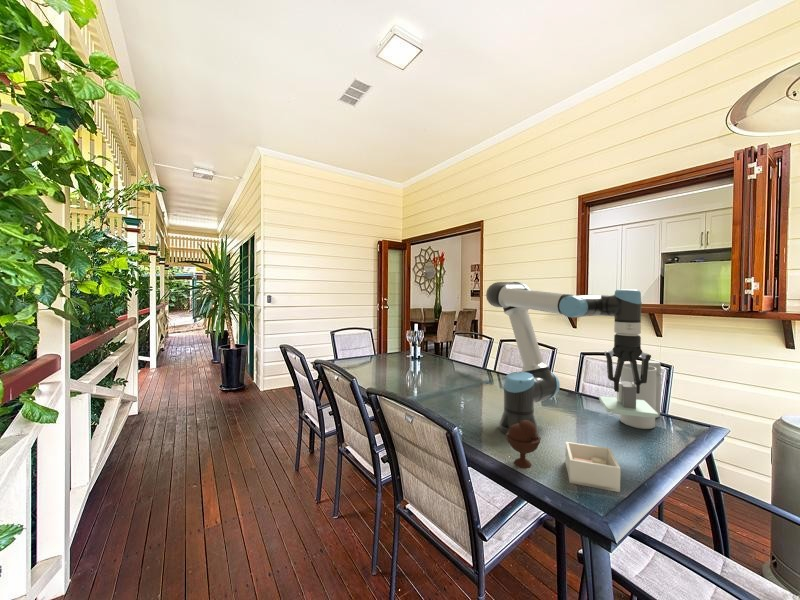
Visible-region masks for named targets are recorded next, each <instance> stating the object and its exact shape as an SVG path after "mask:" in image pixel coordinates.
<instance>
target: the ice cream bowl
mask: <svg viewBox="0 0 800 600" xmlns="http://www.w3.org/2000/svg"><path fill="white" fill-rule="evenodd" d="M505 438H506V440H507V443H508V444H509V445H510V447H511V448H512V449H513V450H514V451H516V452H517V453H519V458H516V459H515V460H513V463H514V465H515V466H517V467H519V468H522V469H529V468H531V467H532V463H531V462H530V460H528V459H527V458H526V457H527V455H526V454H531V453H533V452H534V451H536V450H537V448H538V447H539V445H540V443H541V441H542V439H541V437H540V436H539V434H538V435H537V433H536V427H535V425H534V424H533V423H532V422H531V421H529V420H522V421H521V422H520V423H516V424H514V425H512V426H511V427H510V429H509V431H508V432H507V433H506V434H505Z"/></svg>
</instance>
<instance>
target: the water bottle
mask: <svg viewBox="0 0 800 600" xmlns="http://www.w3.org/2000/svg"><path fill="white" fill-rule="evenodd" d="M648 366H652V367H655V368H656V369H657V370H656V409H655V411H656V412H657V413H658V418H659V417H660V416H661V399H662V398H661V397H662V392H661V391H662V373H663V372H662V367H661V362H660V361H658V360H653V359H650V360H649V362H648Z"/></svg>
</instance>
